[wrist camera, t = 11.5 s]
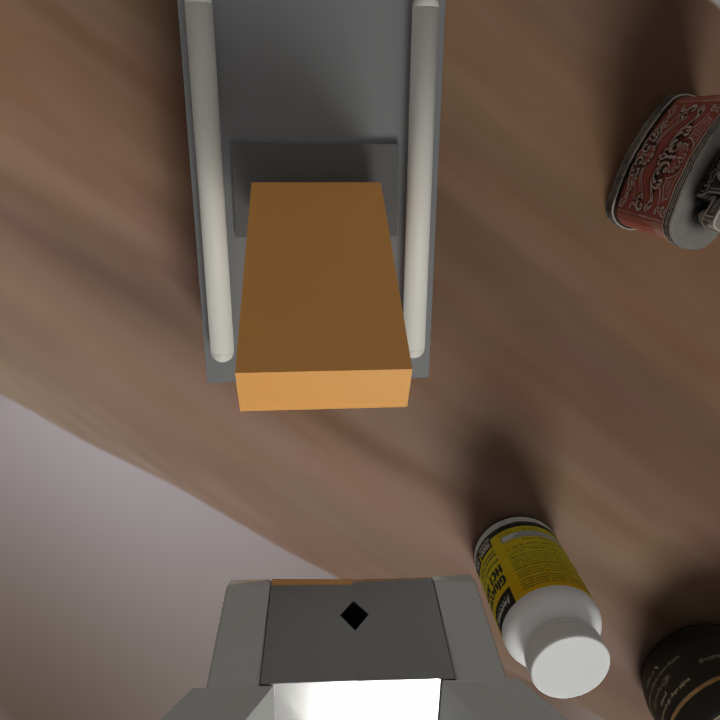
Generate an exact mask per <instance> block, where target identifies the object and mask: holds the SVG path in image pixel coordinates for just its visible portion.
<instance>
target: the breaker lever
mask: <svg viewBox="0 0 720 720" xmlns="http://www.w3.org/2000/svg"><path fill="white" fill-rule="evenodd" d="M411 375H412V364H411V358H410V352H409V346H408V340H407V334H406V328H405V322H404V316H403V310H402V304H401V299H400V293H399V287H398V281H397V275H396V269H395V263H394V257H393V251H392V245H391V239H390V233H389V227H388V221H387V216H386V210H385V204H384V198H383V192H382V186H381V182H252V183H251V194H250V206H249V217H248V229H247V240H246V252H245V263H244V275H243V287H242V298H241V310H240V321H239V333H238V344H237V356H236V367H235V377H236V384H237V391H238V398H239V405H240V411H265V410H303V409H340V408H378V407H407V403H408V396H409V389H410V382H411Z"/></svg>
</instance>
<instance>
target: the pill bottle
mask: <svg viewBox="0 0 720 720" xmlns="http://www.w3.org/2000/svg"><path fill="white" fill-rule="evenodd" d="M474 562H475V567H476V570H477V573H478V576H479V578H480V581H481V583H482V586H483V589H484V591H485V594H486V597H487V599H488V602H489V605H490V607H491V610H492V613H493V615H494V618H495V620H496V623H497V626H498V628H499V631H500V634H501V637H502V639H503V642H504V644H505V646H506V648H507V650H508V651H509V653H510V654H511V656H512V657H513V658H514V659H515V660H516V661H518V662H519V663H520V664H522V665H524V666H525V667H526V668H527V670H528V672H529V674H530V676H531V679H532V681H533V683H534V685H535V686H536V687H537V688H538V689H539V690H540V691H541V692H543V693H544V694H546V695H548V696H551V697H556V698H572V697H577V696H580V695H582V694H585V693H587V692H589V691H591V690H592V689H594V688H595V687H596V686H597V685H599V684H600V682H601V681H602V680H603V679H604V677H605V676H606V674H607V672H608V669H609V666H610V655H609V652H608V649H607V647H606V645H605V644H604V642H603V640H602V638H601V636H600V634H601V629H602V621H601V615H600V612H599V609H598V607H597V605H596V603H595V601H594V600H593V598H592V596H591V595H590V593H589V591H588V590H587V588H586V586H585V585H584V583H583V581H582V580H581V578H580V576H579V575H578V573H577V571H576V570H575V568H574V566H573V564H572V563H571V561H570V559H569V558H568V556H567V554H566V553H565V551H564V549H563V548H562V546H561V544H560V543H559V541H558V540H557V538H556V536H555V535H554V533H553V532H552V531H551V529H550V528H549V527H548V526H546V525H545V524H544V523H542V522H540V521H538V520H536V519H533V518H529V517H512V518H508V519H504V520H502V521H499V522H497V523H495V524H493V525H492V526H491V527H489V528H488V529H487V530H486V531H485V532H484V533H483V535H482V536H481V537H480V539H479V541H478V543H477V545H476V548H475V553H474Z"/></svg>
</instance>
